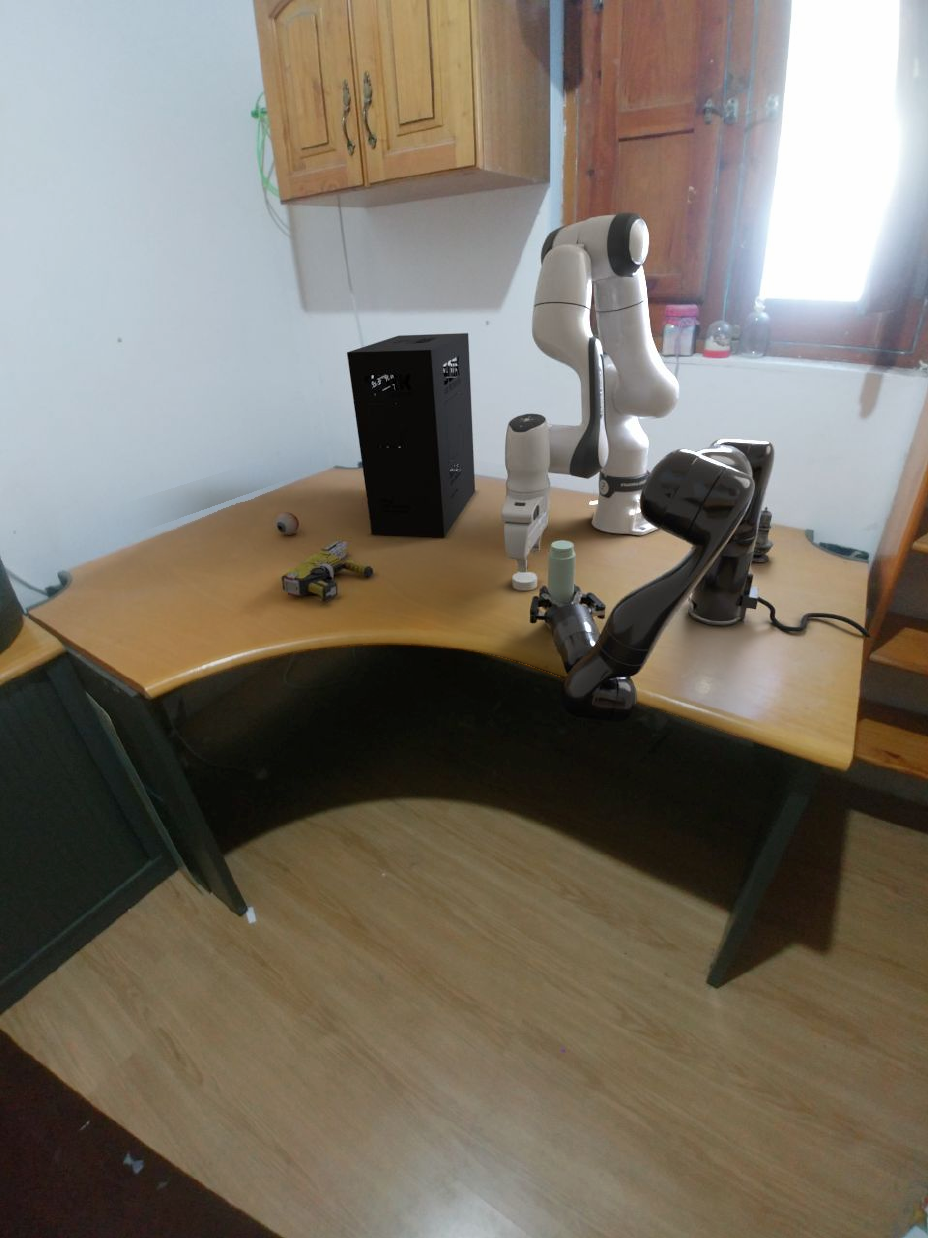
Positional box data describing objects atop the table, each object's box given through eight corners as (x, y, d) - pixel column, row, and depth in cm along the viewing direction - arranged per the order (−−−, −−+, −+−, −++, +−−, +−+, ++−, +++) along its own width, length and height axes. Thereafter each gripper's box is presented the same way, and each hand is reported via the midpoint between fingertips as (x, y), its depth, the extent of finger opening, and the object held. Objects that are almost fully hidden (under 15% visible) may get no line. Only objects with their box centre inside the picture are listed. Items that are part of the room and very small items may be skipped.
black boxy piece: (444, 537, 157) (431, 349, 135) (371, 534, 162) (346, 352, 139) (475, 491, 189) (468, 332, 166) (413, 489, 193) (398, 335, 171)
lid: (540, 588, 130) (540, 580, 129) (516, 592, 129) (516, 584, 128) (532, 578, 134) (532, 570, 133) (509, 581, 133) (509, 573, 132)
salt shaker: (772, 562, 134) (784, 511, 128) (744, 561, 136) (754, 511, 130) (766, 552, 139) (777, 502, 133) (739, 551, 140) (749, 501, 134)
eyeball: (273, 537, 164) (268, 516, 161) (287, 528, 169) (282, 508, 166) (291, 539, 161) (286, 518, 158) (305, 530, 166) (301, 510, 163)
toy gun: (389, 548, 145) (334, 537, 149) (339, 588, 125) (277, 575, 129) (389, 566, 147) (335, 555, 151) (340, 608, 127) (279, 595, 131)
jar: (554, 633, 114) (556, 552, 105) (542, 621, 118) (543, 542, 109) (577, 627, 115) (580, 546, 107) (564, 616, 119) (567, 537, 111)
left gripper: (527, 482, 131) (528, 540, 138) (497, 516, 115) (500, 580, 122) (555, 483, 129) (555, 543, 136) (529, 518, 113) (530, 584, 120)
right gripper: (620, 613, 99) (596, 568, 114) (533, 618, 99) (520, 573, 114) (616, 651, 103) (594, 603, 118) (533, 656, 103) (520, 608, 117)
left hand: (529, 561), depth 129 cm, fingers open, 8 cm apart
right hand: (558, 589), depth 115 cm, fingers closed on jar, 5 cm apart
